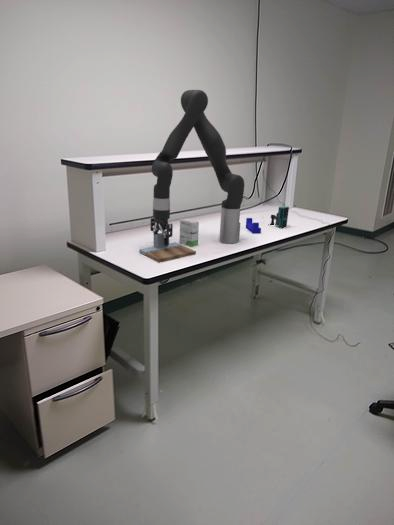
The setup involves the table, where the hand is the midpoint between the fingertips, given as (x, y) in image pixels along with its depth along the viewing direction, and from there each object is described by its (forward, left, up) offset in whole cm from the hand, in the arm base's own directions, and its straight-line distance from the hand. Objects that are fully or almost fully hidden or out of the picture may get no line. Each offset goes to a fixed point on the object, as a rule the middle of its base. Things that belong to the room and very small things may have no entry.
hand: (161, 243), depth 182 cm
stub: (0, 0, -3) cm, 3 cm away
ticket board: (0, +8, -3) cm, 9 cm away
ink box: (-17, -1, -4) cm, 17 cm away
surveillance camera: (-83, -1, -4) cm, 83 cm away
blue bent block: (-63, -1, -4) cm, 63 cm away
